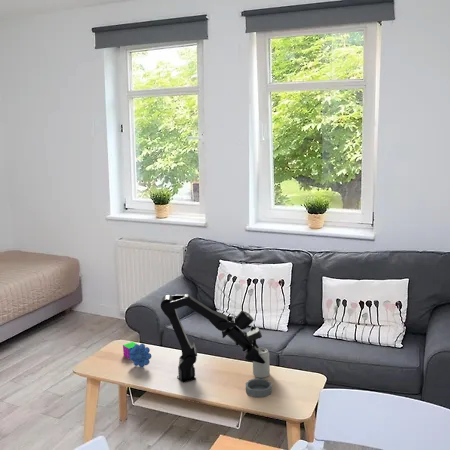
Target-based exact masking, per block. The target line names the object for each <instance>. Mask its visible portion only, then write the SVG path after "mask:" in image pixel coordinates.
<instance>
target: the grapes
mask: <svg viewBox="0 0 450 450" xmlns="http://www.w3.org/2000/svg"><path fill="white" fill-rule="evenodd" d="M150 351H151V349H150V348H149V347H148V346H146V345H145V343H140V344H139V343H136V345H135V346H134V349H132V350H131V351H130V353H131V354H132V356H131V357H130V359H129V360H131V362H133V365H134V366H135V367H139V368H142V369H143V368H144V367H145V366H148V365H149V364H150V360H151V359H152V354H151V353H150Z"/></svg>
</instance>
